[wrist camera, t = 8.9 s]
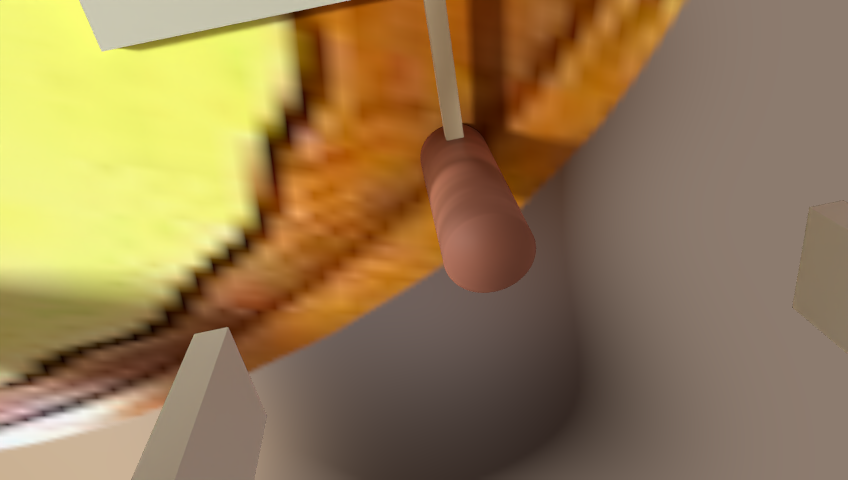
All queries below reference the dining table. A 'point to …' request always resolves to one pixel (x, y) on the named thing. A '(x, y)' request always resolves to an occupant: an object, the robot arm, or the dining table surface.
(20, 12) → the dining table surface
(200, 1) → the white compartment tray
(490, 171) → the tethered block
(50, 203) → the dining table surface
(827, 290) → the robot arm
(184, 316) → the dining table surface
